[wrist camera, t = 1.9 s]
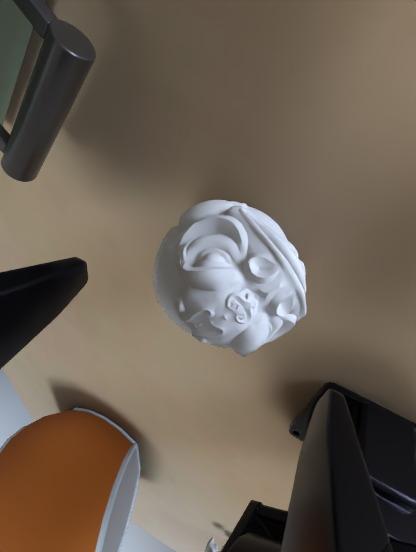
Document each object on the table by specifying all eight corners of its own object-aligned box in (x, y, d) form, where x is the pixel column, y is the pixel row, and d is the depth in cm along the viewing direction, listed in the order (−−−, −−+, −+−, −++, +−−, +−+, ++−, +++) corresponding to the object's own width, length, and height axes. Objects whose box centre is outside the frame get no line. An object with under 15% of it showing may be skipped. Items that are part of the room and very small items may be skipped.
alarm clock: (43, 369, 38) (-127, 523, 26) (162, 436, 33) (22, 672, 20) (72, 439, 50) (-35, 569, 37) (163, 497, 45) (74, 671, 32)
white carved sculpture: (354, 266, 14) (334, 391, 8) (232, 301, 18) (170, 398, 13) (292, 139, 12) (220, 200, 7) (174, 212, 16) (77, 282, 11)
